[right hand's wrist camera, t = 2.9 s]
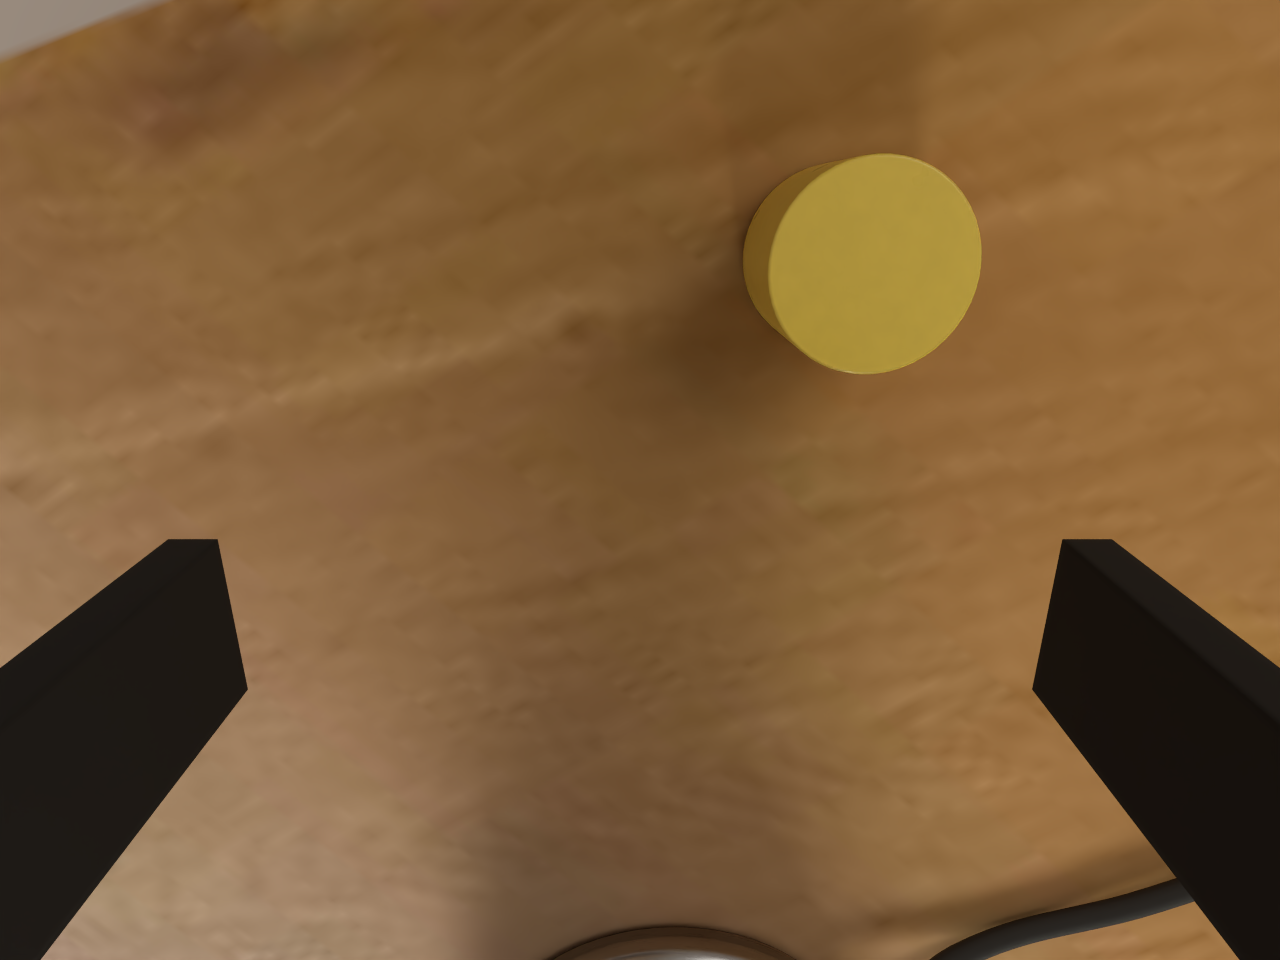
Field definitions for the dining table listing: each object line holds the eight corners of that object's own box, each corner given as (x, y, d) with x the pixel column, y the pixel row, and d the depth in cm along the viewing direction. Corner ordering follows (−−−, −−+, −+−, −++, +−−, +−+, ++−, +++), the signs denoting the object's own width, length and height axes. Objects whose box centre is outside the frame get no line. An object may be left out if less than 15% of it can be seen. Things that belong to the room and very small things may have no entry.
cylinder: (752, 156, 22) (781, 145, 18) (932, 168, 22) (1002, 160, 18) (733, 340, 24) (756, 369, 20) (902, 350, 24) (961, 380, 20)
